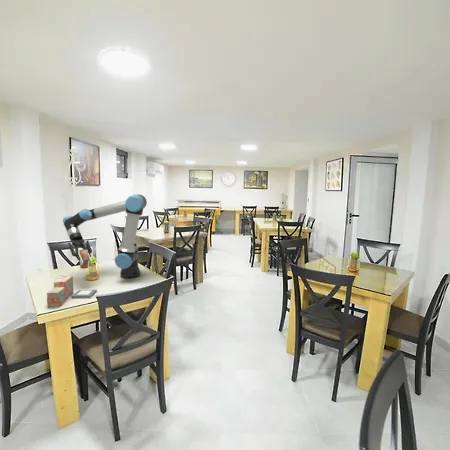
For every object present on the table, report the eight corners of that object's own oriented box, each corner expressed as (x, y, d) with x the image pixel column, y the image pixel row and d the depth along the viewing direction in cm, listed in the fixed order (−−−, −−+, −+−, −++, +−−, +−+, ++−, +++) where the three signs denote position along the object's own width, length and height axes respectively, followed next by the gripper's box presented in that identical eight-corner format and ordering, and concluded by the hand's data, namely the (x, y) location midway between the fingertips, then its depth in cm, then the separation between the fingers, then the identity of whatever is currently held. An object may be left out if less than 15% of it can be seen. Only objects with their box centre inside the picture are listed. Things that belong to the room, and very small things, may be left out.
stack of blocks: (59, 308, 156) (58, 287, 155) (47, 308, 155) (46, 287, 154) (73, 293, 177) (72, 275, 176) (63, 294, 176) (62, 275, 175)
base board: (96, 291, 181) (96, 289, 181) (90, 298, 171) (90, 295, 170) (79, 291, 180) (79, 289, 180) (71, 298, 169) (71, 295, 169)
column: (89, 266, 189) (88, 249, 188) (86, 268, 184) (85, 251, 183) (81, 266, 189) (81, 249, 187) (78, 268, 184) (78, 251, 182)
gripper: (86, 237, 201) (98, 263, 193) (59, 240, 187) (70, 268, 179) (89, 230, 197) (101, 257, 189) (62, 233, 183) (73, 262, 175)
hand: (86, 262), depth 184 cm, fingers closed on column, 5 cm apart
